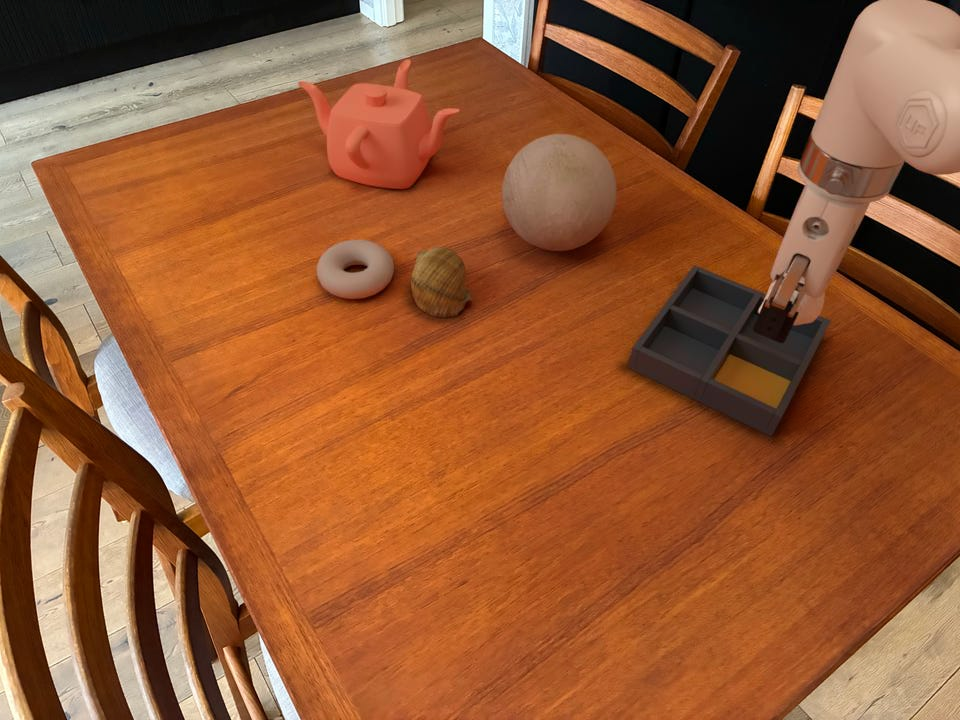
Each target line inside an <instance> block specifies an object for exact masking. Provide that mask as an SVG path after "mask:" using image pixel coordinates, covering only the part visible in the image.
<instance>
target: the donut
mask: <svg viewBox="0 0 960 720" xmlns="http://www.w3.org/2000/svg"><path fill="white" fill-rule="evenodd" d="M358 265H359V266H365V267H367V268H365V269H363V270H361V271H356V272H350V271H345V269H347V268H349V267H352V266H358ZM394 272H395V263H394V259H393V257H392V255H391V254H390V252H389V251H388V249H387V248H385V247H383V245H381V244H379V243H377V242H374V241H372V240H368V239H362V238H361V239H359V238H357V239H355V238H354V239H346V240H344V241H340V242H338V243H335V244H334V245H331V246H330V247H329V248H327V249H326V251H324V252H323V253H322V254H321V255H320V258H319V260H318V262H317V265H316V277H317V280H318V281H319V283H320V285H321V287H322V288H323V289H324V290H326V291H327V292H329V294H331V295H333V296H335V297H338V298H341V299H349V300H357V299H359V300H360V299H365V298H368V297H371V296H375V295H376V294H378V293H380V292H381V291H383V290H384V289H385V288H386V287H387V286H388V285H389V284H390V282H391V281H392V278H393V277H394V276H393V275H394V274H395V273H394Z"/></svg>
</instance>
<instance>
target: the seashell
mask: <svg viewBox="0 0 960 720" xmlns="http://www.w3.org/2000/svg"><path fill="white" fill-rule="evenodd" d="M465 265H466V264H465V263H464V260H462V258H461V256H460V255H458V253H457V252H456V251H454V250H452V249H450V248H448V247H445V246H435V247H433V248H430V249H427V250H423V251H418V252H417V255H416V260H415V262H414V268H413V270H412V273H411V276H410V289H411V292H412V293H411V294H412V298H413V301H414V303H415V305H416V306H417V307H418V309H420V310H421V311H422V312H424V313H425V314H428V315H430V316H433V317H435V318H444V319H445V318H453V317H457V316H458V315H459V314H460V312H461V311H462V310H463V309H464V308H465V305H466V303H467V302H468V303H473V299H472V293H471V291H470V290H469V289H467V286H466V278H467V270H466V266H465Z"/></svg>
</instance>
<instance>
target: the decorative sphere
mask: <svg viewBox="0 0 960 720" xmlns="http://www.w3.org/2000/svg"><path fill="white" fill-rule="evenodd" d="M617 193H618V191H617V180H616V176H615V172H614V169H613V167H612V166H611V163H610V161H609V159H608V158H607V157H606V155H605V154H604V153H603V152H602V151H601V149H600V148H599V147H597V146H596V145H595V144H594V143H592V142H591V141H589V140H587V139H585V138H583V137H580V136H578V135H575V134H569V133H552V134H548V135H547V134H546V135H544V136H541V137H538V138H536V139H534V140H532V141H530V142H528V143H527V144H526V145H525V146H523V147H522V148H521V149H520V150H519V151H518V152H517V153H516V154H515V155H514V157H513V158H512V160H511V161H510V162H509V164H508V166H507V168H506V171H505V174H504V177H503V180H502V184H501V202H502V208H503V211H504V214H505V217H506V220H507V221H508V223H509V224H510V227H511V228H512V229H513V231H514V232H515V233H516V234H517V236H519V237H520V238H521V239H522V240H524V241H525V242H527V243H528V244H530V245H532V246H534V247H536V248H538V249H542V250H544V251H545V250H546V251H550V252H564V251H565V252H566V251H570V250H574V249H576V248H577V249H578V248H580V247H582V246H585V245H586V244H588V243H590V242H591V241H593V239H595V238H596V237H598V236H599V234H600V233H602V232H603V230H604V229H605V227H606V226H607V225H608V223H609V222H610V219H611V218H612V215H613V212H614V210H615V207H616V203H617Z"/></svg>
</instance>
